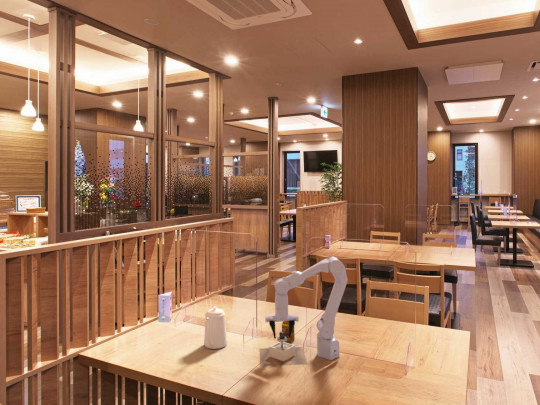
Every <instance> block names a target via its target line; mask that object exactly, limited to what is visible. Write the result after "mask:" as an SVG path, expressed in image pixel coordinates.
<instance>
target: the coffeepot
mask: <svg viewBox="0 0 540 405" xmlns="http://www.w3.org/2000/svg"><path fill="white" fill-rule="evenodd" d="M204 314H205V315H204V316H205V319H204V338H203V344H204V347H205V348H207V349H209V350H218V349H219V350H220V349H222V348H225V347H226V346H227V344H228V340H227V328H226V317H225V315H226V313H225V311H224V310H223V309H222V308H218V306H215V305H214V306H212V308H211V309H207V310H206V312H205V313H204Z"/></svg>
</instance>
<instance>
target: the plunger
mask: <svg viewBox="0 0 540 405" xmlns="http://www.w3.org/2000/svg"><path fill="white" fill-rule="evenodd" d="M276 341H277V342H281V343H280V344H278V345H276V346H273V347H275V348H278V349H281V350H285V349H287V348H289V347H291V346H290V345H287V344H284V343H283V342H285V341H287V337H285V332H282V331H280V332H279V334H278V337H277V338H276Z"/></svg>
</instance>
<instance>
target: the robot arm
mask: <svg viewBox="0 0 540 405" xmlns="http://www.w3.org/2000/svg"><path fill="white" fill-rule="evenodd" d="M321 272H322V273H327V274H329V272H330V273H331V274H332V276H333V277H334V284H333V286H332V290H331V291H330V294H329V298H328V300H327V304H326V307H325V310H324V312H323V313H322V315H321V316H320V318H319V320H317V323H316V328H317V331H318V333H317V335H316V342H317V343H316V344H317V346H316V354H317V356H318V357H319V358H323V359H326V360H328V361H332V360H334V359H336V358H339V357H340V341H339V340H338V339H337V338H335V337H334V334H335V326H336V325H335V323H336V315H337V313H338V311H339V307H340V304H341V301H342V298H343V295H344V294H345V290H346V286H347V284H348V280H349V278H348V275H347V271H346V266H345V265H344V263H343V262H342V261H341V260H340V259H339V258H337V256H332V255H331V256H329V257H327V258H324V259H322V260H320V261H319V262H317V263H315V264H314V265H312V266H310V267H308V268H307V269H305V270H303V271H298V270H297V271H295V270H293V271H292V272H291V274H289V275H287V276H282V278H279V279H276V280H275V283H274V285H273V286H274V289H275V292H274V295H275V296H274V310H275V311H274V312H275V313H274V315H271V316H270V315H269V316H265V317H264V318H265V323H269V326H270V328H271V331H272V335H273V339H274V340H275V339H276V340H277V338H276V337H277V336H276V322H283V321H288V323H289V332H288V336H289V338H290V337H291V332H292V329H293V327H294V328H295V325H296V322H299V316H298V315H290V314H289V296H288V292H289V291H290V290H292V289H294V288H296V287H299V286H300V285H302V284H304V282H305V279H308V278H309V277H312V276H315V275H317V274H319V273H321Z"/></svg>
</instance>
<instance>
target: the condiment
mask: <svg viewBox="0 0 540 405" xmlns="http://www.w3.org/2000/svg"><path fill="white" fill-rule="evenodd" d="M281 332H285V337H287V341H285V342H286V343H289V344H292V343H294V342H295V341H296V340H295V326H294V327H293V329H292V332H291V337H290V338H289V336H288V332H289V323H288V321H282V322H281Z"/></svg>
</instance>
